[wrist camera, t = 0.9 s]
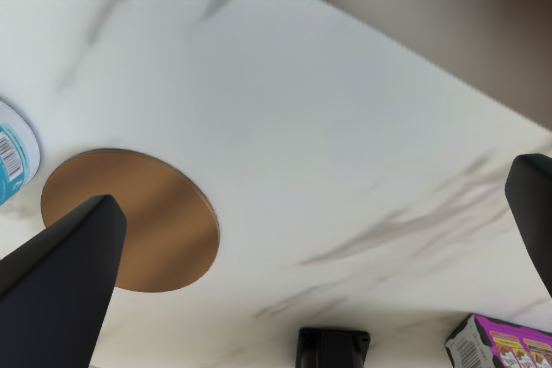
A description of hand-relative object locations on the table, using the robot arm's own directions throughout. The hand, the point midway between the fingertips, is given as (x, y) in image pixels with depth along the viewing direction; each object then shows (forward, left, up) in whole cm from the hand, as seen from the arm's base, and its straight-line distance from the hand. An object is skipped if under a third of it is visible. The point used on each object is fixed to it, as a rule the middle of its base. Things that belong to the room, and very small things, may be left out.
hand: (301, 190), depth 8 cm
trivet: (-13, +12, -15) cm, 23 cm away
